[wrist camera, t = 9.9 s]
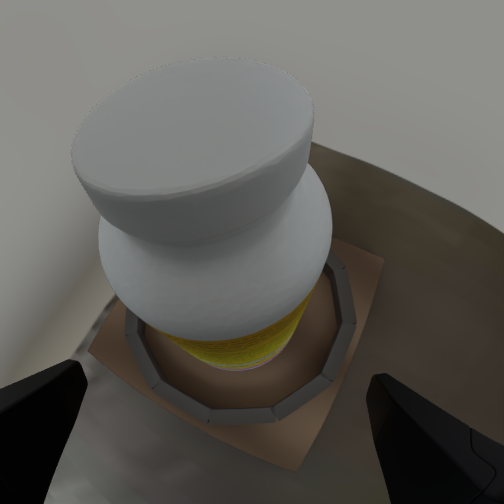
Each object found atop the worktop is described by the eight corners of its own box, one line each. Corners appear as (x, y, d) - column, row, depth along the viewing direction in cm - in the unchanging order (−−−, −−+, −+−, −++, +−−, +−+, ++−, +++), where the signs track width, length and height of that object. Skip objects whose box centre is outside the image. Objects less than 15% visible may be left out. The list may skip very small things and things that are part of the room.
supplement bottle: (316, 340, 15) (450, 173, 4) (204, 389, 14) (19, 348, 2) (265, 244, 18) (267, 32, 7) (165, 284, 17) (49, 101, 5)
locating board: (293, 466, 13) (298, 478, 10) (99, 355, 16) (77, 347, 14) (376, 269, 18) (391, 250, 16) (202, 197, 22) (196, 173, 19)
